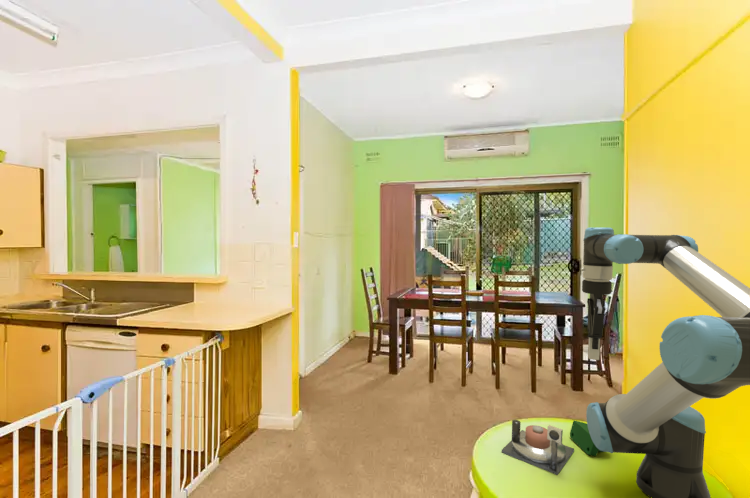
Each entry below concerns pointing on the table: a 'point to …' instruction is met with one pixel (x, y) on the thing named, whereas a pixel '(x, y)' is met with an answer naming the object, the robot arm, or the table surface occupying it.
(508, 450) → the turntable base
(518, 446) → the turntable
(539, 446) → the cover
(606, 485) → the table surface
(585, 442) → the clamp
